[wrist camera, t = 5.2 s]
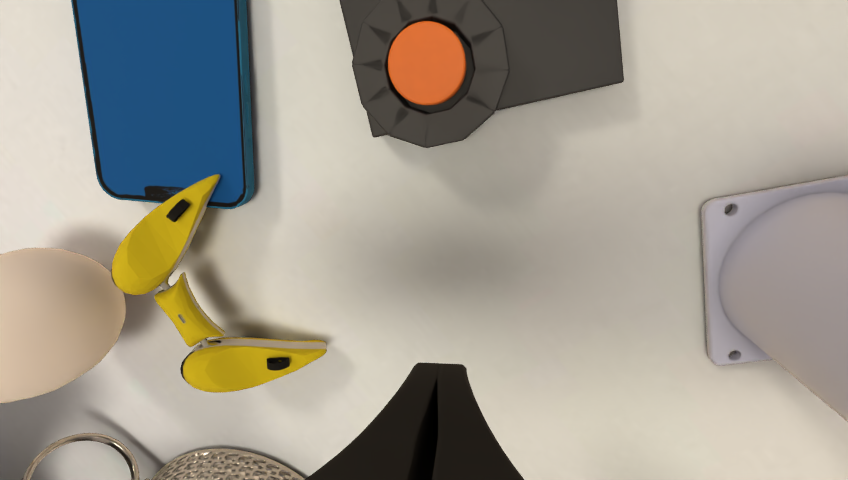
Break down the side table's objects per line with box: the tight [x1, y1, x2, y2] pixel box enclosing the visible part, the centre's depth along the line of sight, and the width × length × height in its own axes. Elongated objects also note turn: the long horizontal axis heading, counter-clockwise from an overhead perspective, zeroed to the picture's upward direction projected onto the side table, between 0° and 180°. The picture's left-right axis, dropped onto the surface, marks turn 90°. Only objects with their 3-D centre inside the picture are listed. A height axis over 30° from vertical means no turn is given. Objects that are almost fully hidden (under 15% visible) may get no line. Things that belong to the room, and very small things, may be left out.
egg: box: [0, 248, 126, 403], centre depth 19 cm, size 6×6×8 cm
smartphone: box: [71, 0, 254, 209], centre depth 18 cm, size 7×1×15 cm
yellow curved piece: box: [111, 174, 327, 392], centre depth 21 cm, size 10×4×10 cm
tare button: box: [388, 21, 466, 105], centre depth 15 cm, size 3×3×2 cm
